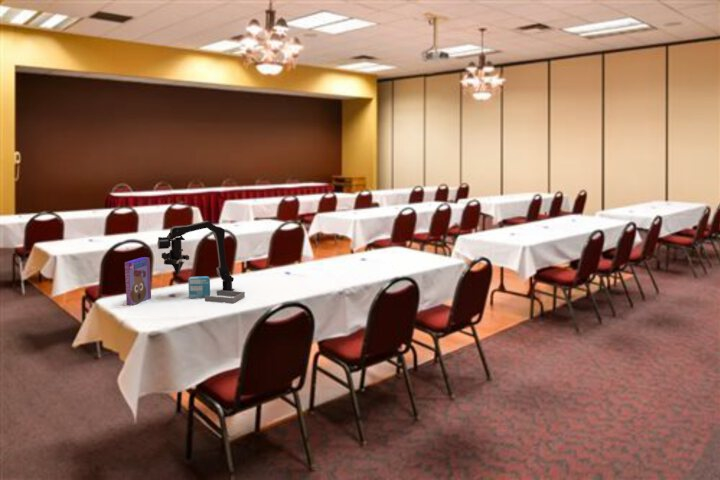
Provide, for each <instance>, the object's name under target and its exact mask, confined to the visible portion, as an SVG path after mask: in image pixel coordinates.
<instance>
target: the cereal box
mask: <svg viewBox="0 0 720 480" xmlns="http://www.w3.org/2000/svg"><path fill="white" fill-rule="evenodd" d="M150 261H151V260H150V257H146V256H144V257H139V258H135V259H132V260H128V261H125V262H124V276H125V297H126V298H125V299H126V305H127V306H136V305H139V304H141V303H144V302H145V301H147V300H150V299H151V298H152V284H151V283H152V282H151V262H150Z"/></svg>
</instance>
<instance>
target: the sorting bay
mask: <svg viewBox="0 0 720 480" xmlns="http://www.w3.org/2000/svg"><path fill="white" fill-rule="evenodd" d="M245 293H246V292H245V291H234V290H233V291H222V289H217V290H216V296H213V295H210V296H205V298H204V301H205V302H210V303H211V302H213V303H223V302H225V304H226V303H227V304H228V303H229V304H235V303H236V302H238V301H240V300H242V299H243V298H245V296H246V295H245Z"/></svg>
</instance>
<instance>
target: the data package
mask: <svg viewBox="0 0 720 480" xmlns="http://www.w3.org/2000/svg"><path fill="white" fill-rule="evenodd" d="M187 281H188V283H187V284H188V297H189V298H190V299H205V296H211V279H210V276H207V275H204V276H201V275H200V276H190V277H189V278H188V280H187Z"/></svg>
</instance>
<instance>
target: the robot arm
mask: <svg viewBox="0 0 720 480" xmlns="http://www.w3.org/2000/svg"><path fill="white" fill-rule="evenodd" d="M203 229H208V230H209V231H211V232H212V234H213V238H214V240H215V242H216V251H217V258H218V266H217V267H216V274H217V276H218V277H219V278H220V279H221V280H222V289H221V290H222V291H234V290H235V288H233V282H234V279H235V278H234V277H233V276H232V275H231V272H230V269H229V267H228V265H227V259H226V250H225V242H224V241H225V237H226V236H225V235H226V234H225V233H226V231H225V229H224V228H223V227H221V226H217V225H215V224H213V223H212V222H210V221H209V220H204V221H200V222H196V223H192V224H187V225H174V226H171V228H170V230H169V233H168V234H167V236H165V237H164V236H163V237H161V236H159V237H157V243H156V244H157V249H158V250H162V249H163V250H165V249H169V252H161V256H160V257H161V259H163V265H170V266H172V267H173V269H174V272H175V274H176V275H179V274H180V271H181V269H182V267H183V265H184V263H185V261H189V260H190V256H189V255H188V254H183V252H184V249H183V248H182V246H183V245H182V241H185V240H186V239H185V238H184V237H183V236H185V235H186V234H187V233H191V232H195V231H199V230H203ZM170 247H171V249H170ZM183 260H185V261H183Z"/></svg>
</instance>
